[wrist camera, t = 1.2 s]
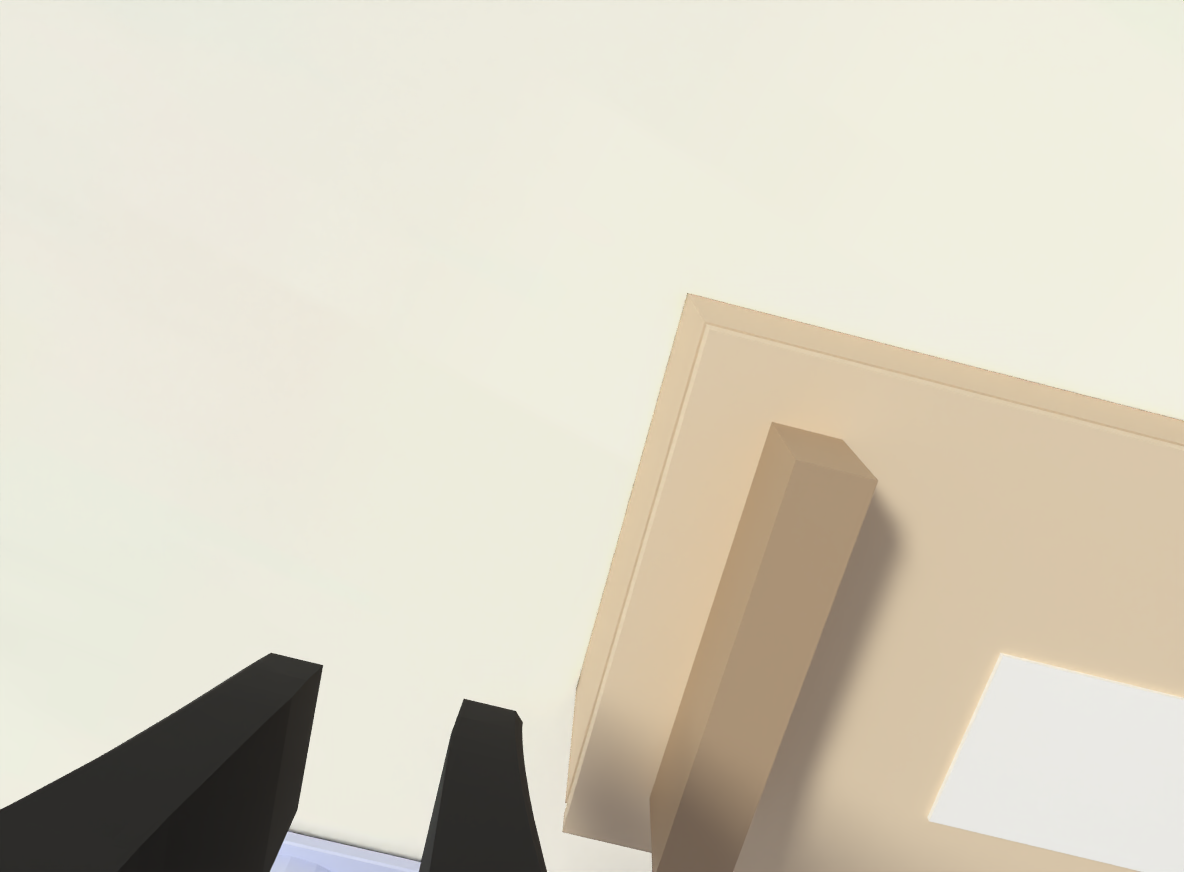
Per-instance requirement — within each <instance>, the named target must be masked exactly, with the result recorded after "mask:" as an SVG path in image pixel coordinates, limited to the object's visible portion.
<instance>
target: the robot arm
mask: <svg viewBox="0 0 1184 872" xmlns="http://www.w3.org/2000/svg"><path fill="white" fill-rule="evenodd" d="M322 668H323V665H320V664H316V663H311V662H307V661H303V660H299V659H295V658H290V657H286V656H282V655H278V654H274V653H270V654H268V655H266V656H265V657H263V658H261V659H259V660H258V661H256V662H254V663H253V664H251V665H249V666H248V667H246V668H245V669H243V670H241V671H240V672H238V673H237V674H235V675H233V676H232V677H230V678H229V679H227V680H226V681H224V682H222V683H221V684H219V685H218V686H216V687H215V688H213V689H211V690H210V691H208V692H207V693H205V694H203V695H202V696H200V697H199V698H197V699H195V700H194V701H192V702H191V703H189V704H187V705H186V706H184V707H183V708H181V709H179V710H178V711H176V712H175V713H173V714H171V715H170V716H168V717H166V718H165V719H163V720H161V721H159V722H158V723H156V724H154V725H153V726H151V727H149V728H148V729H146V730H144V731H143V732H141V733H139V734H138V735H136V736H134V737H133V738H131V739H129V740H127V741H126V742H124V743H122V744H121V745H119V746H117V747H116V748H114V749H112V750H111V751H109V752H107V753H105V754H104V755H102V756H100V757H98V758H96V759H95V760H93V761H91V762H89V763H87V764H85V765H84V766H82V767H80V768H78V769H76V770H74V771H72V772H71V773H69V774H67V775H65V776H63V777H61V778H59V779H57V780H56V781H54V782H52V783H50V784H48V785H46V786H44V787H43V788H41V789H39V790H37V791H35V792H33V793H31V794H30V795H28V796H26V797H24V798H22V799H20V800H18V801H16V802H14V803H12V804H10V805H9V806H7V807H5V808H3V809H0V872H547V870H546V866H545V862H544V858H543V854H542V850H541V846H540V841H539V837H538V833H537V829H536V825H535V821H534V816H533V811H532V806H531V801H530V796H529V790H528V784H527V778H526V772H525V764H524V755H523V743H522V723H523V722H522V720H521V719H520V717H519V716H518V714H517V712H516V711H513V710H509V709H505V708H500V707H496V706H492V705H488V704H484V703H479V702H475V701H471V700H467V699H464V700H463V703H462V706H461V708H460V711H459V714H458V716H457V719H456V722H455V725H454V728H453V730H452V733H451V737H450V741H449V745H448V750H447V754H446V758H445V762H444V767H443V771H442V775H441V779H440V784H439V788H438V792H437V796H436V801H435V805H434V809H433V813H432V818H431V822H430V826H429V830H428V835H427V839H426V843H425V847H424V852H423V856H422V860H421V862H418V861H413V860H409V859H405V858H400V857H396V856H392V855H387V854H383V853H379V852H374V851H370V850H366V849H361V848H357V847H353V846H348V845H344V844H340V843H335V842H331V841H327V840H322V839H318V838H314V837H309V836H305V835H301V834H296V833H292V832H288V830H289V827H290V825H291V823H292V821H293V818H294V816H295V814H296V811H297V809H298V803H299V798H300V792H301V786H302V781H303V775H304V769H305V764H306V758H307V753H308V747H309V741H310V736H311V730H312V724H313V719H314V713H315V708H316V702H317V696H318V691H319V685H320V679H321V674H322Z"/></svg>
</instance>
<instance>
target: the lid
mask: <svg viewBox="0 0 1184 872" xmlns="http://www.w3.org/2000/svg"><path fill="white" fill-rule="evenodd" d="M562 832H564V833H569V834H573V835H577V836H581V837H586V838H590V839H594V840H599V841H603V842H607V843H611V844H616V845H620V846H624V847H629V848H633V849H637V850H641V851H646V852H650V853H652V872H1184V447H1183V446H1180V445H1176V444H1172V443H1168V442H1164V441H1160V440H1156V439H1152V438H1148V437H1144V436H1140V435H1137V434H1133V433H1129V432H1125V431H1121V430H1117V429H1113V428H1109V427H1105V426H1101V425H1098V424H1094V423H1090V422H1086V421H1082V420H1078V419H1074V418H1070V417H1066V416H1062V415H1059V414H1055V413H1051V412H1047V411H1043V410H1039V409H1035V408H1031V407H1027V406H1023V405H1020V404H1016V403H1012V402H1008V401H1004V400H1000V399H996V398H992V397H988V396H984V395H980V394H977V393H973V392H969V391H965V390H961V389H957V388H953V387H949V386H945V385H941V384H938V383H934V382H930V381H926V380H922V379H918V378H914V377H910V376H906V375H902V374H899V373H895V372H891V371H887V370H883V369H879V368H875V367H871V366H867V365H863V364H860V363H856V362H852V361H848V360H844V359H840V358H836V357H832V356H828V355H824V354H820V353H817V352H813V351H809V350H805V349H801V348H797V347H793V346H789V345H785V344H781V343H778V342H774V341H770V340H766V339H762V338H758V337H754V336H750V335H746V334H742V333H739V332H735V331H731V330H727V329H723V328H719V327H715V326H711V325H707V324H706V328H705V331H704V335H703V338H702V342H701V345H700V348H699V352H698V355H697V359H696V362H695V366H694V369H693V373H692V376H691V379H690V383H689V386H688V390H687V393H686V397H685V400H684V403H683V407H682V410H681V414H680V417H679V421H678V424H677V428H676V431H675V434H674V438H673V441H672V445H671V448H670V452H669V455H668V458H667V462H666V465H665V469H664V472H663V476H662V479H661V483H660V486H659V489H658V493H657V496H656V500H655V503H654V507H653V510H652V513H651V517H650V520H649V524H648V527H647V531H646V534H645V538H644V541H643V544H642V548H641V551H640V555H639V558H638V562H637V565H636V568H635V572H634V575H633V579H632V582H631V586H630V589H629V593H628V596H627V599H626V603H625V606H624V610H623V613H622V617H621V620H620V623H619V627H618V630H617V634H616V637H615V641H614V644H613V648H612V651H611V654H610V658H609V661H608V665H607V668H606V672H605V675H604V678H603V682H602V685H601V689H600V692H599V696H598V699H597V703H596V706H595V709H594V713H593V716H592V720H591V723H590V727H589V730H588V733H587V737H586V740H585V744H584V747H583V751H582V754H581V757H580V761H579V764H578V768H577V771H576V775H575V778H574V782H573V785H572V788H571V792H570V795H569V799H568V802H567V806H566V809H565V812H564V821H563V831H562Z"/></svg>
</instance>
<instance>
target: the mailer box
mask: <svg viewBox="0 0 1184 872" xmlns="http://www.w3.org/2000/svg"><path fill="white" fill-rule="evenodd" d="M706 324H707V325H711V326H715V327H719V328H723V329H727V330H731V331H735V332H739V333H742V334H746V335H750V336H754V337H758V338H762V339H766V340H770V341H774V342H778V343H781V344H785V345H789V346H793V347H797V348H801V349H805V350H809V351H813V352H817V353H820V354H824V355H828V356H832V357H836V358H840V359H844V360H848V361H852V362H856V363H860V364H863V365H867V366H871V367H875V368H879V369H883V370H887V371H891V372H895V373H899V374H902V375H906V376H910V377H914V378H918V379H922V380H926V381H930V382H934V383H938V384H941V385H945V386H949V387H953V388H957V389H961V390H965V391H969V392H973V393H977V394H980V395H984V396H988V397H992V398H996V399H1000V400H1004V401H1008V402H1012V403H1016V404H1020V405H1023V406H1027V407H1031V408H1035V409H1039V410H1043V411H1047V412H1051V413H1055V414H1059V415H1062V416H1066V417H1070V418H1074V419H1078V420H1082V421H1086V422H1090V423H1094V424H1098V425H1101V426H1105V427H1109V428H1113V429H1117V430H1121V431H1125V432H1129V433H1133V434H1137V435H1140V436H1144V437H1148V438H1152V439H1156V440H1160V441H1164V442H1168V443H1172V444H1176V445H1180V446H1183V447H1184V421H1182V420H1179V419H1175V418H1171V417H1167V416H1163V415H1159V414H1155V413H1151V412H1148V411H1144V410H1140V409H1136V408H1132V407H1128V406H1124V405H1120V404H1116V403H1113V402H1109V401H1105V400H1101V399H1097V398H1093V397H1089V396H1085V395H1081V394H1078V393H1074V392H1070V391H1066V390H1062V389H1058V388H1054V387H1050V386H1047V385H1043V384H1039V383H1035V382H1031V381H1027V380H1023V379H1019V378H1015V377H1012V376H1008V375H1004V374H1000V373H996V372H992V371H988V370H984V369H980V368H977V367H973V366H969V365H965V364H961V363H957V362H953V361H949V360H945V359H942V358H938V357H934V356H930V355H926V354H922V353H918V352H914V351H911V350H907V349H903V348H899V347H895V346H891V345H887V344H883V343H879V342H876V341H872V340H868V339H864V338H860V337H856V336H852V335H848V334H844V333H841V332H837V331H833V330H829V329H825V328H821V327H817V326H813V325H809V324H806V323H802V322H798V321H794V320H790V319H786V318H782V317H778V316H775V315H771V314H767V313H763V312H759V311H755V310H751V309H747V308H743V307H740V306H736V305H732V304H728V303H724V302H720V301H716V300H712V299H708V298H705V297H701V296H697V295H693V294H689V293H687V297H686V300H685V304H684V307H683V311H682V314H681V318H680V322H679V325H678V329H677V332H676V336H675V339H674V343H673V346H672V350H671V354H670V357H669V361H668V364H667V368H666V371H665V375H664V378H663V382H662V386H661V389H660V393H659V396H658V400H657V403H656V407H655V410H654V414H653V418H652V421H651V425H650V428H649V432H648V435H647V439H646V442H645V446H644V450H643V453H642V457H641V460H640V464H639V467H638V471H637V474H636V478H635V482H634V485H633V489H632V492H631V496H630V499H629V503H628V506H627V510H626V514H625V517H624V521H623V524H622V528H621V531H620V535H619V538H618V542H617V546H616V549H615V553H614V556H613V560H612V563H611V567H610V570H609V574H608V578H607V581H606V585H605V588H604V592H603V595H602V599H601V602H600V606H599V610H598V613H597V617H596V620H595V624H594V627H593V631H592V634H591V638H590V642H589V645H588V649H587V652H586V656H585V659H584V663H583V666H582V670H581V674H580V677H579V681H578V684H577V688H576V696H575V707H574V717H573V727H572V738H571V748H570V759H569V769H568V779H567V790H566V800H565V803H567V802H568V799H569V795H570V792H571V788H572V785H573V782H574V778H575V775H576V771H577V768H578V764H579V761H580V757H581V754H582V751H583V747H584V744H585V740H586V737H587V733H588V730H589V727H590V723H591V720H592V716H593V713H594V709H595V706H596V703H597V699H598V696H599V692H600V689H601V685H602V682H603V678H604V675H605V672H606V668H607V665H608V661H609V658H610V654H611V651H612V648H613V644H614V641H615V637H616V634H617V630H618V627H619V623H620V620H621V617H622V613H623V610H624V606H625V603H626V599H627V596H628V593H629V589H630V586H631V582H632V579H633V575H634V572H635V568H636V565H637V562H638V558H639V555H640V551H641V548H642V544H643V541H644V538H645V534H646V531H647V527H648V524H649V520H650V517H651V513H652V510H653V507H654V503H655V500H656V496H657V493H658V489H659V486H660V483H661V479H662V476H663V472H664V469H665V465H666V462H667V458H668V455H669V452H670V448H671V445H672V441H673V438H674V434H675V431H676V428H677V424H678V421H679V417H680V414H681V410H682V407H683V403H684V400H685V397H686V393H687V390H688V386H689V383H690V379H691V376H692V373H693V369H694V366H695V362H696V359H697V355H698V352H699V348H700V345H701V342H702V338H703V335H704V331H705V328H706Z"/></svg>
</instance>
